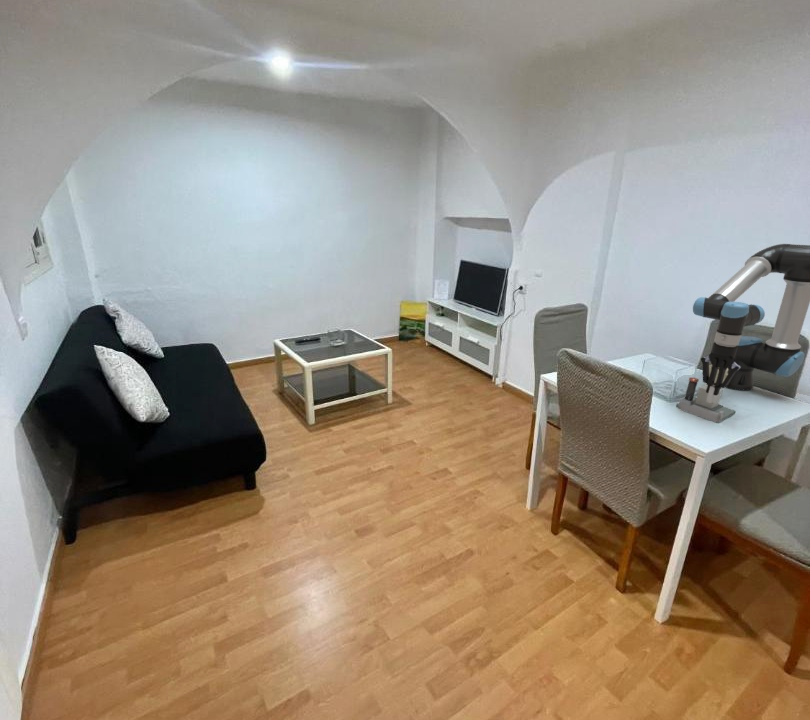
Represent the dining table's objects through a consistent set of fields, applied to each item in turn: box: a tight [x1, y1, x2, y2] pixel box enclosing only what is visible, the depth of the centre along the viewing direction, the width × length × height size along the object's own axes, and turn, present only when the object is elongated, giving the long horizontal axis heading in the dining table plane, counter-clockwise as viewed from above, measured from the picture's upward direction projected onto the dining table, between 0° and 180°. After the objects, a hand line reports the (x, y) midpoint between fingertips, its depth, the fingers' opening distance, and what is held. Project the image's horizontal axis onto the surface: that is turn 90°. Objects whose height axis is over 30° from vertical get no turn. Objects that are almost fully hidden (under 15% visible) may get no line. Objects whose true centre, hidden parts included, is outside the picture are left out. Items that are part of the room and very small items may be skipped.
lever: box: [682, 376, 700, 405], centre depth 172 cm, size 3×3×11 cm
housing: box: [695, 384, 723, 408], centre depth 175 cm, size 6×6×9 cm
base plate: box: [675, 396, 737, 424], centre depth 174 cm, size 15×16×4 cm
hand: (709, 401), depth 167 cm, fingers closed
